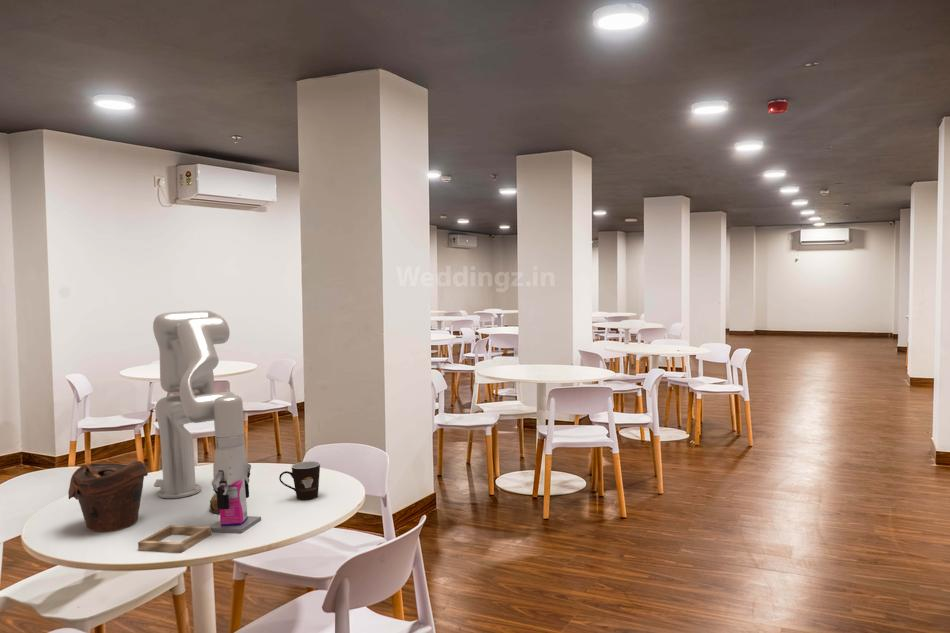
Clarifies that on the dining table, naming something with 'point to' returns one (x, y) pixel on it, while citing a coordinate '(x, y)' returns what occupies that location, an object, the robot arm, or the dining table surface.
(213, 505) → the bread roll
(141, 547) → the oak pocket frame
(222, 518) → the supplement box
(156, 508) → the dining table surface
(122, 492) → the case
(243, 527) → the stone pad
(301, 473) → the coffee mug
